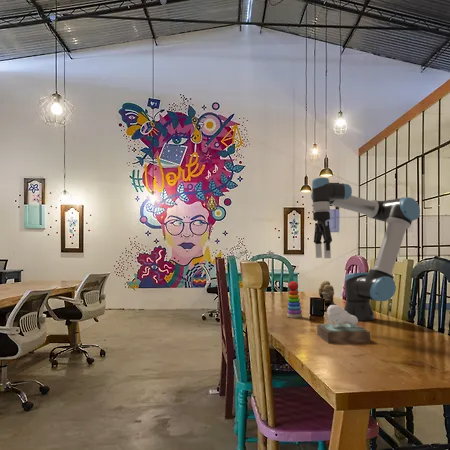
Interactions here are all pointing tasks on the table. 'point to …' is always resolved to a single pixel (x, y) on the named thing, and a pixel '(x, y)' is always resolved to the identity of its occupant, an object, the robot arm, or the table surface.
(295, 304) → the stacking toy
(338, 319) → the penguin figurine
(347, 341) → the square wooden tray
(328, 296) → the owl figurine
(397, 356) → the table surface
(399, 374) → the table surface
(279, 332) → the table surface
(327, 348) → the table surface
